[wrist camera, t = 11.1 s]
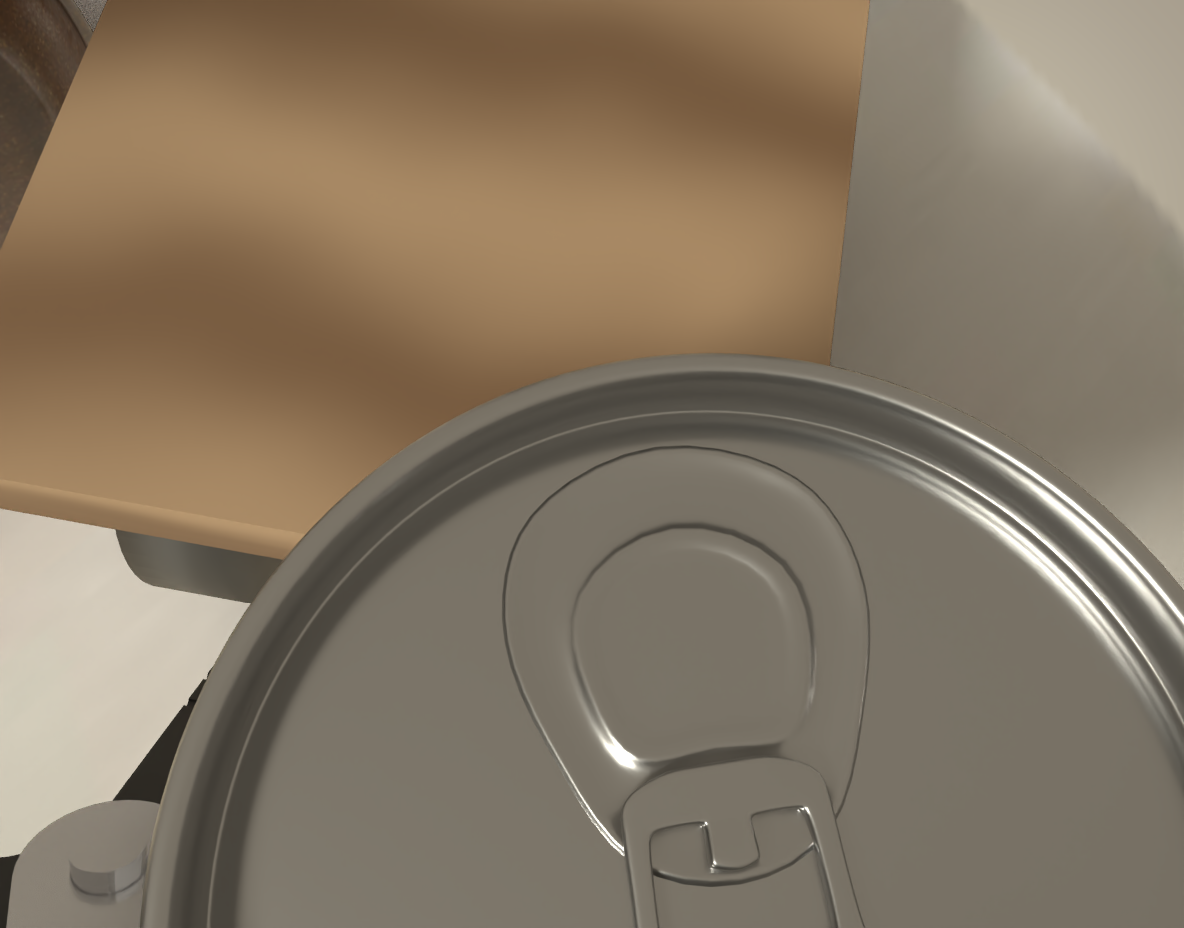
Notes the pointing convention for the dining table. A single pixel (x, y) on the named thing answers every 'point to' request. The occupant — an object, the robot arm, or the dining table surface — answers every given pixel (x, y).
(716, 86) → the trolley
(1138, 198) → the dining table surface
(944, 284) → the dining table surface
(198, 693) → the robot arm
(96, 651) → the dining table surface
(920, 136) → the dining table surface
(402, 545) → the can
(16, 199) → the plant saucer
